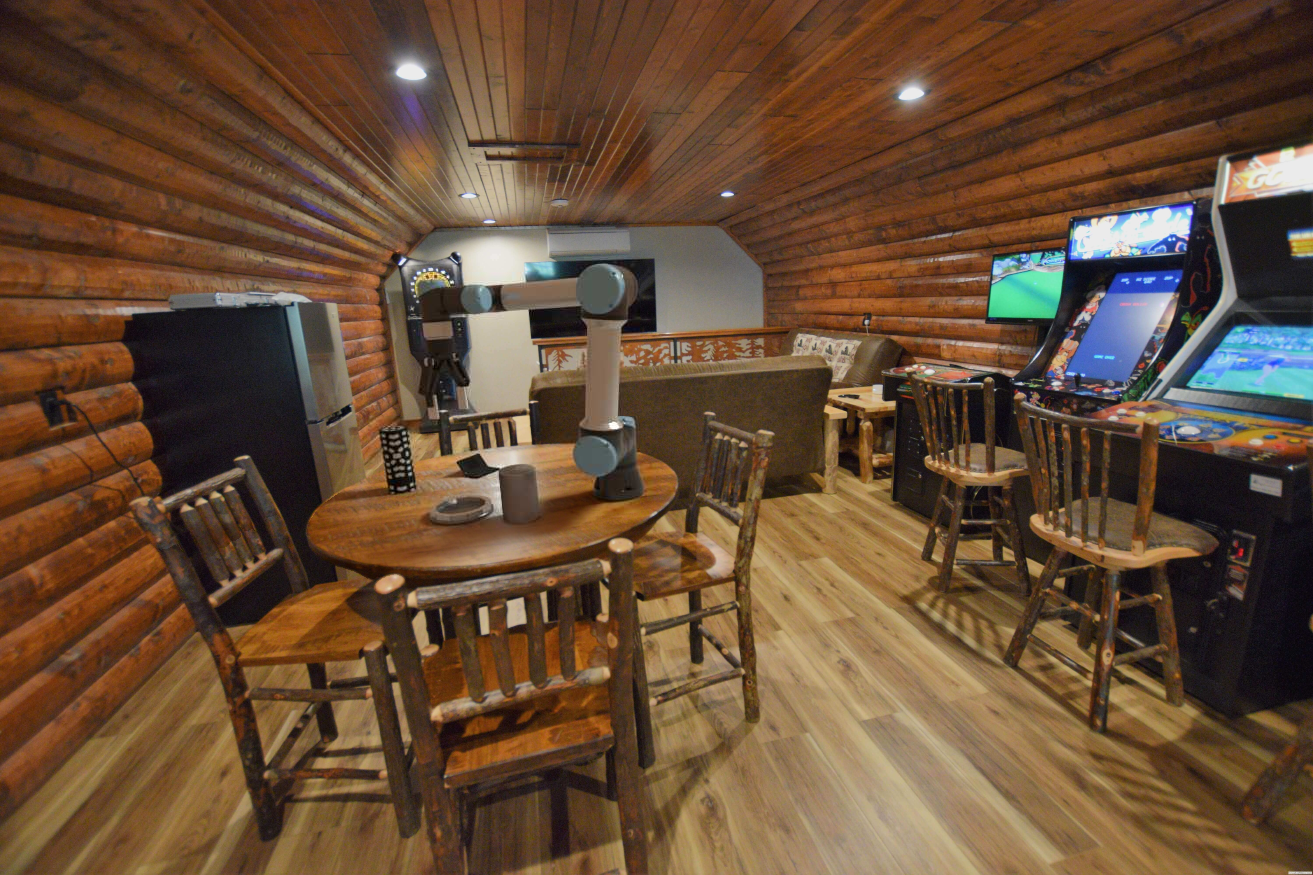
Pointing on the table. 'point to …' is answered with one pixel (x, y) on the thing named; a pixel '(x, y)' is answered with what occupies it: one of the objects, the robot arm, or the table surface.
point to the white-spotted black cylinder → (397, 459)
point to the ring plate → (461, 510)
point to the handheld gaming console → (475, 467)
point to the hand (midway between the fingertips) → (449, 413)
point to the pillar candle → (519, 493)
